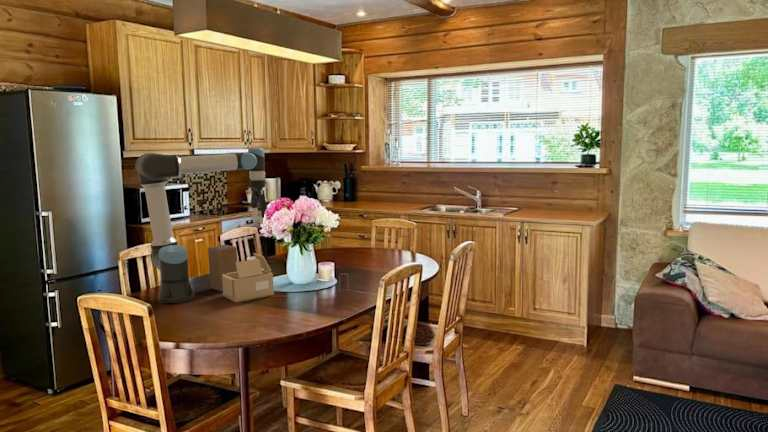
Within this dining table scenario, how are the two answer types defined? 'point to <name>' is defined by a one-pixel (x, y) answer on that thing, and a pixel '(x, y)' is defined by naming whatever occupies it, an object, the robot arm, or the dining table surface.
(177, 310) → the dining table surface
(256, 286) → the carton
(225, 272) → the wooden block
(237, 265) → the front flap
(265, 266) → the right flap
